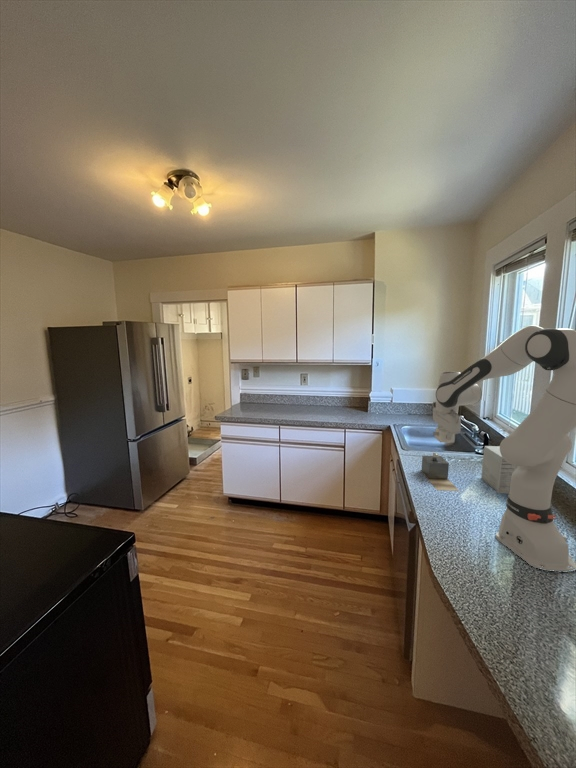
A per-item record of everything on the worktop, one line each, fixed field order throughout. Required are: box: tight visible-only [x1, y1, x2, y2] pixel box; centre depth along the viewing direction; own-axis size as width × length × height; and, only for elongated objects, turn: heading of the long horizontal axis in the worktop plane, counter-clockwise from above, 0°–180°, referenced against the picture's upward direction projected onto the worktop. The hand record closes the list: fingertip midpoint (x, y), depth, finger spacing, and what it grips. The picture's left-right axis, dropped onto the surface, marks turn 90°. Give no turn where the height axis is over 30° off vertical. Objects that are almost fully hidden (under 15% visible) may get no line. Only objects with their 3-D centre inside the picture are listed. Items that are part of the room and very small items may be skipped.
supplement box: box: [481, 445, 518, 495], centre depth 142 cm, size 13×13×18 cm
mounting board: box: [420, 470, 460, 492], centre depth 148 cm, size 21×10×2 cm, turn 177°
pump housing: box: [432, 426, 456, 444], centre depth 141 cm, size 6×8×5 cm
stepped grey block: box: [420, 452, 450, 480], centre depth 152 cm, size 9×9×11 cm
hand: (444, 436), depth 141 cm, fingers closed on pump housing, 6 cm apart
